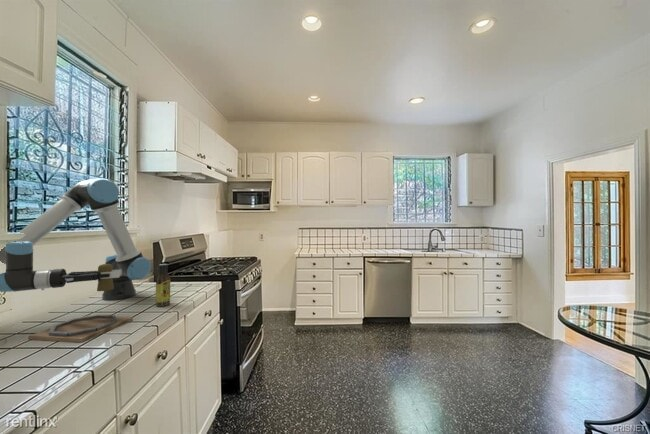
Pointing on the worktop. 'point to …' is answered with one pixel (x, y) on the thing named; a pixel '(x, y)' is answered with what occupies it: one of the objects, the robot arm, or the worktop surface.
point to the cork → (105, 283)
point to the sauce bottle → (163, 286)
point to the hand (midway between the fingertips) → (120, 273)
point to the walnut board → (80, 326)
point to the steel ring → (55, 333)
